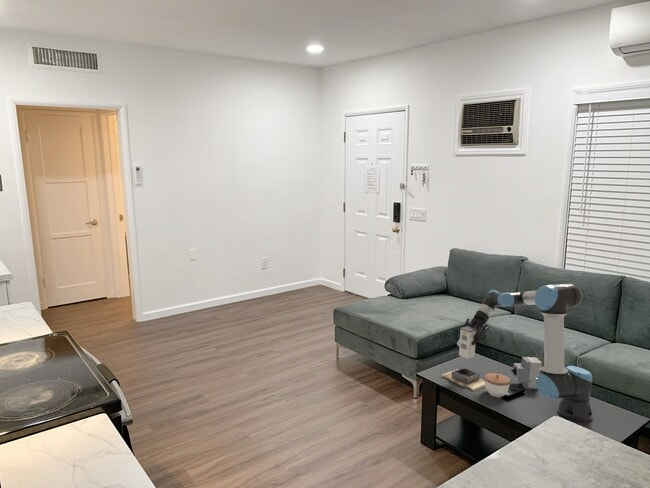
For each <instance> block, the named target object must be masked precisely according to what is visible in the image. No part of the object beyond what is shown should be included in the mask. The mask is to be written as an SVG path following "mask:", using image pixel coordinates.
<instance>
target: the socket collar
mask: <svg viewBox="0 0 650 488" xmlns="http://www.w3.org/2000/svg"><path fill="white" fill-rule="evenodd" d="M457 369H458V370H456V369H454V370H455V371H454V370H451V371H452V375H451V377H452V378H454V379H456V380H458V381H460V382H463V383H465V384H470V383H473V382H475V381H478V380H480V379H481V377H480V376H481V374H480V373H479V372H476V371H474V370H471V369H469V368H467V367H466V366H465V367H464V366H463V367H461V368H457ZM463 374H465V375H467V376H469V377H465V376H463Z"/></svg>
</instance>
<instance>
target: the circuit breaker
mask: <svg viewBox="0 0 650 488" xmlns="http://www.w3.org/2000/svg"><path fill="white" fill-rule="evenodd" d="M521 358H522V359H521V362H519V363H518V362H514V363H513V365H512V369H511V372H512V377H513V378H514V379H515V380H516V381H517V382H520V384H521V385H522V386H523V387H524V389H535V390H536V389H537V386H536V377H537V376H538V375H539V374H541V368H542V367H543V362H542V361H541V360H539V358H538V357H537V356H536V357H534V356H533V357H532V356H531V357H530V356H522V357H521ZM537 390H538V389H537Z"/></svg>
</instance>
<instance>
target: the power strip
mask: <svg viewBox="0 0 650 488" xmlns="http://www.w3.org/2000/svg"><path fill="white" fill-rule="evenodd" d="M462 327H463V326H462ZM462 327H460V330H461V331H460V330H459V331H460V332H459V333H460V334H459V337H460V346H458V347H459V348H458V349H459V350H458V356H459V357H463V358H465V359H468V360H469V359H471V358H475V355H476V344H475V345H473V346H472V348H471V349H470V350H468V349H467V346H468V344H469V343H470V341H471V339H472V338H474V336H475V333H476V328H471V327H468V326H467V327H463V328H462Z"/></svg>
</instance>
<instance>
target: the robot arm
mask: <svg viewBox="0 0 650 488" xmlns="http://www.w3.org/2000/svg"><path fill="white" fill-rule="evenodd" d="M583 298H584V296H583V291H582V290H581V289H580V287H578V286H577V285H575V284H573V283H561V284H559V283H557V284H545V285H542V286H540V287H538V288H537V289H536V290H529V291H516V292H514V291H513V292H499V291H498V290H494V289H490V290H489V292H488V293H487V294H486V296H485V297H484V299H483V301H482V302H481V304H480V306H479V307H478V308H477V311H476V312H475V313H474V315H473V318H471V319H470V318H467V319H466V321H465V323H464V324H463V326H461V328H463V327H467V326H468V327H471V328H474V329H476V333H475V336H474V338H472V339H471V341H470V343H469V344H468V346H467V349H468V350H470V349H471V348H472V346H473V345H475V346H476V343H477V342H481V341H482V339H483V337H484V336H485V334H486V331H487V330H488V329H489V325H488V324H487V322H488V320H489V319H490V317H491V315H492V314H493V312H494V311H495V310H496V308H500V307H502V308H504V307H505V308H507V307H513V306H514V307H515V306H517V307H518V306H531V305H532V306H533V305H534V306H535V305H536V308H537V309H539V311H540V312H539V313H540V314H541V315H543V342H544V343H543V344H544V345H543V347H544V348H543V350H544V354H543V355H544V356H543V358H544V361H543V362H544V365H542V368H541V370H540V374H539V375H538V376H537V377H536V386H537V391H538V392H539V393H540V394H541V396H542V397H544V398H545V399H546V400H547V399H548V400H553V399H554V400H558V399H560V401H559V403H558V404H557V413H558V414H559V415H561V417H564V418H566V419H568V420H572V421H575V422H585V423H586V422H590V421H592V419H593V416H594V415H593V414H594V413H593V410H592V405H591V393H592V387H593V386H592V384H593V374H592V373H591V371H588V370H587V369H585V368H582V367H579V366H575V365H567V366H565V319H564V317H565V316H567V315H568V309H571V308H572V309H573V308H575V307H578V306H579V305H580V304H581V303H582V301H583ZM460 331H461V329H460V330H459V333H460ZM456 345H457V346H458V347H459V346H460V336H459V337H458V341H457V342H456Z"/></svg>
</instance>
